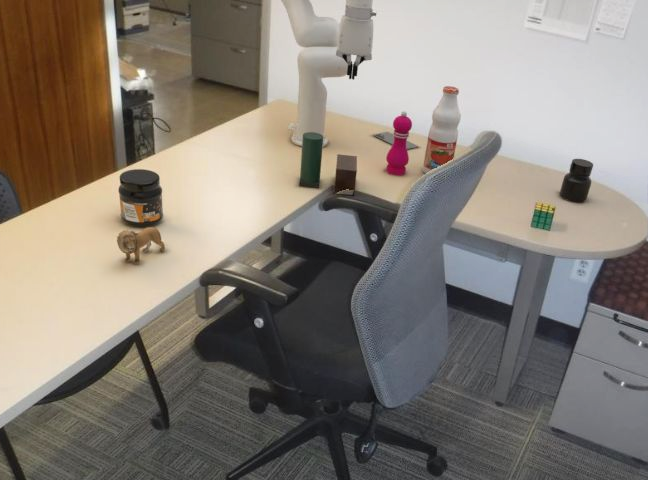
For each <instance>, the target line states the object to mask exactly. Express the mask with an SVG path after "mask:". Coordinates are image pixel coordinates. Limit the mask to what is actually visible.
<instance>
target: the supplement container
mask: <svg viewBox="0 0 648 480" xmlns="http://www.w3.org/2000/svg"><path fill="white" fill-rule="evenodd" d="M119 184H120V185H119V186H118V189H117V190H118V194H119V195H118V196H119V209H120V218H121V221H122V222H123V223H125V224H126V225H128V226H131V227H134V228H147V227H154V226H156V225H158V224H160V223H161V222H162V220H164V219H163V218H164V211H163V210H164V209H163V187H162V186H161V179H160V175H159V174H158V173H157V172H155V171H153V170H150V169H144V168H143V169H142V168H138V169H137V168H136V169H129V170H126V171H123V172H122V173H121V174H120V175H119Z"/></svg>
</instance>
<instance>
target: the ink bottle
mask: <svg viewBox="0 0 648 480" xmlns="http://www.w3.org/2000/svg"><path fill="white" fill-rule="evenodd" d="M593 168H594V163H593V162H591V161H590V160H587V159H584V158H573V159H572V161H571V163H570V166H569V172H568V173H565V175H564V176H563V180H562V184H561V186H560V190H559V197H561V198H562V199H563V200H566V201H570V202H573V203H585V201H587V199H588V195H589V193H590V189H591V185H592V179H591V175H592V172H593Z"/></svg>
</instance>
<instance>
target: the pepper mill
mask: <svg viewBox="0 0 648 480" xmlns="http://www.w3.org/2000/svg"><path fill="white" fill-rule="evenodd" d="M407 115H408V113H407V112H406V110H405V111H404V110H403V111H401V113H400V115H398V116H396V117H395V118H394V119H393V122H392V127H393V128H394V130H393V133H392V134H393V135H394V143H393V145H392V146H391V147H390V149H389V150H388V152H387V154H386V162H387V164H386V168H385V170H386V173H388V174H390V175H393V176H404V175H405V174H406V170H407V167H406V166H407V165H408V164H409V161H410V157H409V152H408V149H406V141H408V138H409V137H410V136H409V135H410V131H411V130H412V127H413V122H412V120H411V118H410V117H408V116H407Z"/></svg>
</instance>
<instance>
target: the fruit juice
mask: <svg viewBox="0 0 648 480" xmlns="http://www.w3.org/2000/svg"><path fill="white" fill-rule="evenodd" d="M459 93H460V90H459V88H458V87H456V86H450V85H446V86H444V87H442V95H441V98H440V100H439V102H438V104H437V105H436V107H435V108H434V109H433V110H432V114H431V118H432V119H431V121H432V124H431V125H430V127H429V130H428V136H427V140H426V141H427V142H426V147H425V152H424V153H425V154H424V160H423V165H422V171H423V173H424V174H425V175H427V174H426V173H427V172H429V171H431V170H432V169H434V168H437V167H438V166H441V165H443V164H445V163H447V162H448V161H450V160H452V159H453V158H455V153H456V148H457V142H458V137H459V130H458V127H459V125H460V122H461V119H462V115H461V111H460V109H459V103H458V96H459ZM453 160H454V159H453Z"/></svg>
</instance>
